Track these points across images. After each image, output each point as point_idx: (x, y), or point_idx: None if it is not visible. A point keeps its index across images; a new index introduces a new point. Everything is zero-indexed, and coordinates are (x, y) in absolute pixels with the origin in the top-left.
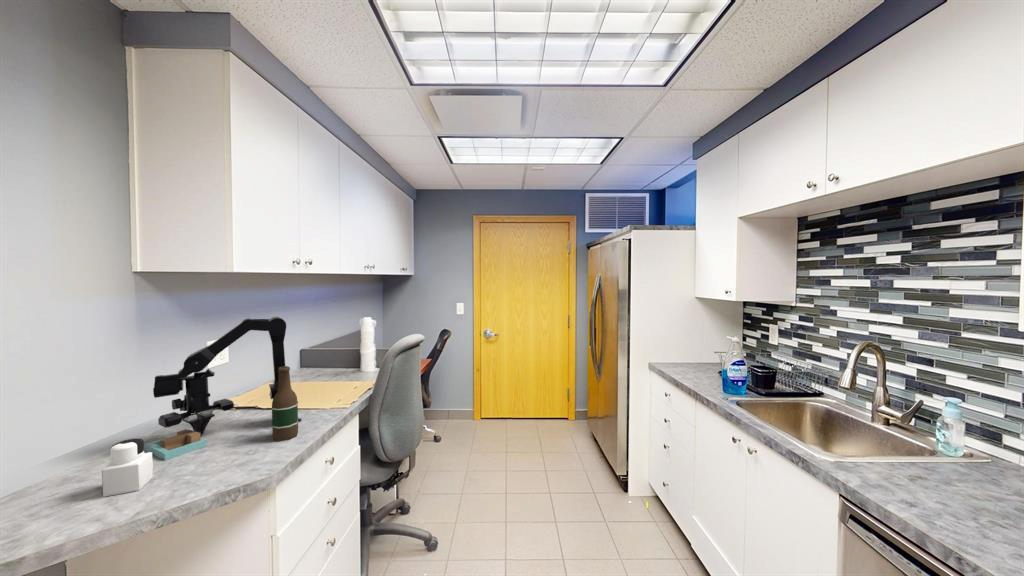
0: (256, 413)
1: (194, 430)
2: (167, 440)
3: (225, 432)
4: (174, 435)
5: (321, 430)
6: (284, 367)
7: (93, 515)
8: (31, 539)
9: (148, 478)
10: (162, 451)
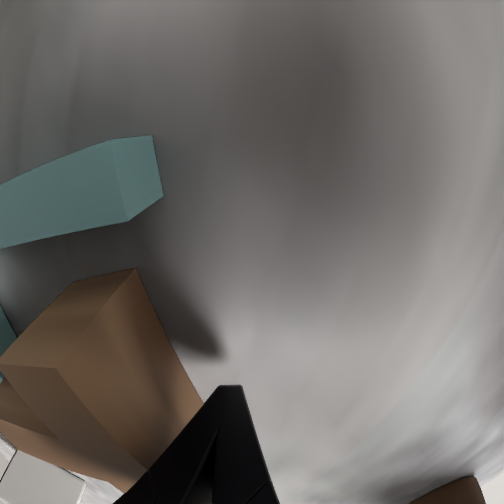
0: None
1: (171, 458)
2: (22, 450)
3: (454, 336)
4: (4, 190)
5: (484, 483)
6: None
7: None
8: None
9: (82, 493)
10: None
